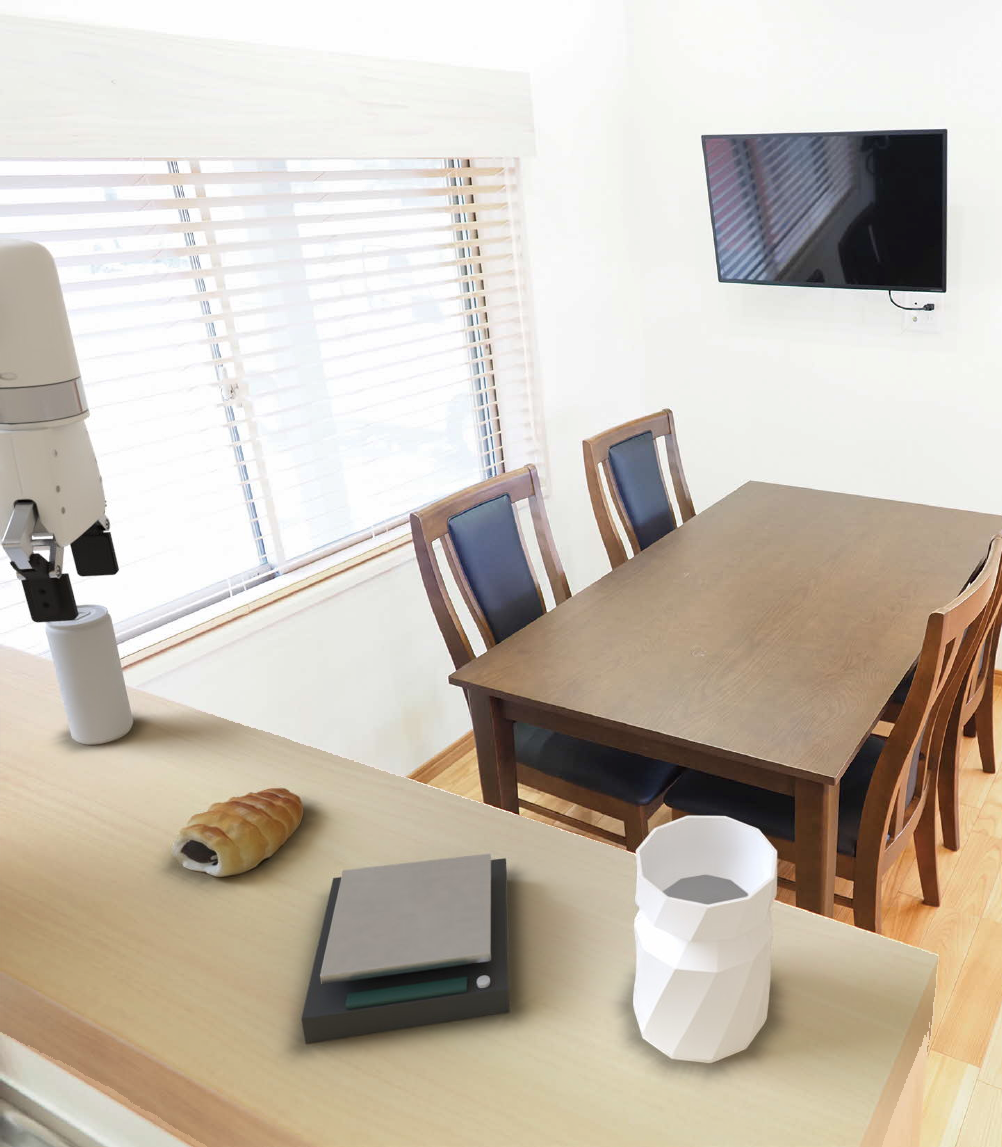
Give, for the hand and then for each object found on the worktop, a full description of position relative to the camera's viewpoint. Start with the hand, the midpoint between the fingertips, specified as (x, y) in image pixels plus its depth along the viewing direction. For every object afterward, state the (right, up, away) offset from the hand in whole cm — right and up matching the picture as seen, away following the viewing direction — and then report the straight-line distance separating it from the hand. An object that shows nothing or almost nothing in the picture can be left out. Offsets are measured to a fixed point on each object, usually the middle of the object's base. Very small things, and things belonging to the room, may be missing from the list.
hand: (78, 596), depth 84 cm
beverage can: (-1, -13, +5) cm, 14 cm away
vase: (+56, -27, -21) cm, 65 cm away
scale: (+36, -24, -18) cm, 47 cm away
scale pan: (+36, -21, -19) cm, 46 cm away
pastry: (+19, -19, -9) cm, 29 cm away
